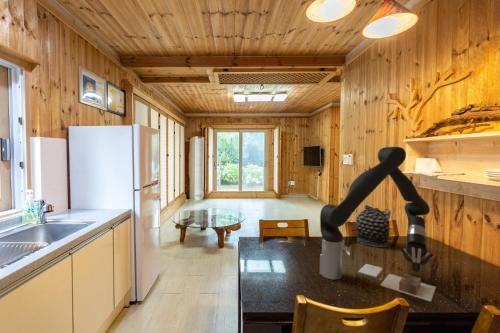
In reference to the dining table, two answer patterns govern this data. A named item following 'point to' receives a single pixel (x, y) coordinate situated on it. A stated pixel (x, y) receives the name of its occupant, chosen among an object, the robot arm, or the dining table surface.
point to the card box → (410, 284)
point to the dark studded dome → (373, 227)
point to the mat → (393, 283)
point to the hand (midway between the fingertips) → (416, 272)
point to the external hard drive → (370, 270)
